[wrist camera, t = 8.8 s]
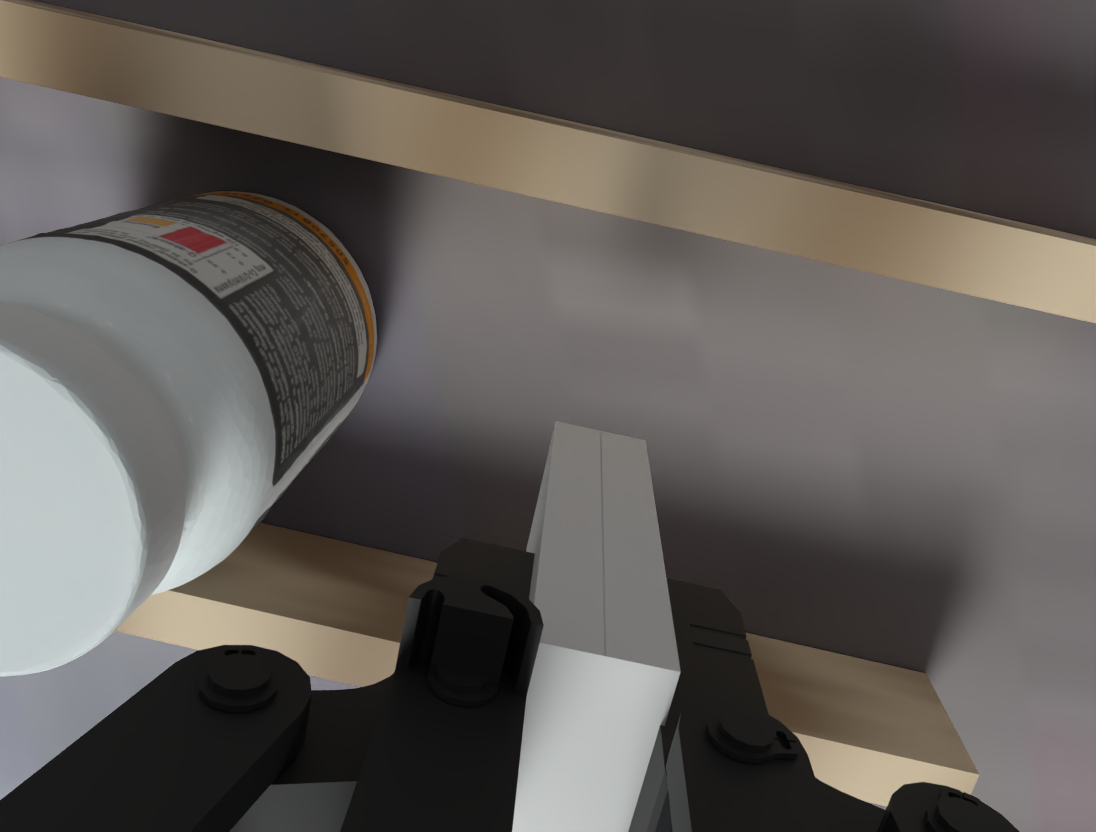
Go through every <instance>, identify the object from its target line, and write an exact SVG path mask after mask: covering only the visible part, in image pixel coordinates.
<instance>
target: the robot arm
mask: <svg viewBox="0 0 1096 832" xmlns="http://www.w3.org/2000/svg"><path fill="white" fill-rule="evenodd" d="M751 656H752V653H751V650H750V646H749V643H748V640H746V632H745V629H744V625H743V621H742V618H741V614H740V612H739V611H738V610H737V609H736V608H735V607H734V605H733V604H732V603H731V602H730V601H729V600H728V599H727V598H726V597H725V595H724V594H723V593H722V592H721V591H720V590H718V589H713V588H709V587H704V586H699V585H695V584H690V583H685V582H681V581H676V580H671V579H666V572H665V565H664V559H663V552H662V545H661V539H660V532H659V525H658V519H657V512H656V506H655V499H654V492H653V486H652V479H651V472H650V466H649V459H648V453H647V446H646V440H641V439H637V438H632V437H628V436H623V435H618V434H614V433H609V432H604V431H600V430H595V429H590V428H586V427H581V426H577V425H572V424H567V423H563V422H558V421H555V426H554V430H553V434H552V439H551V443H550V448H549V452H548V456H547V461H546V465H545V470H544V474H543V478H542V483H541V487H540V491H539V496H538V500H537V505H536V509H535V513H534V518H533V522H532V527H531V531H530V535H529V540H528V544H527V549H526V551H521V550H516V549H512V548H507V547H502V546H498V545H493V544H488V543H483V542H479V541H474V540H469V539H465V538H462V539H460V540H459V541H457V542H456V543H454V544H453V545H451V546H450V547H448V548H447V549H445V550H444V551H442V552H441V554H440V557H439V560H438V563H437V566H436V569H435V572H434V577H433V578H432V580H430V581H427V582H425V583H423V584H420V585H418V586H417V588H416V589H415V590H414V591H413V592H412V594H411V595H410V596H409V598H408V603H407V609H406V614H405V619H404V625H403V630H402V636H401V641H400V646H399V652H398V657H397V662H396V668H395V672H394V673H393V674H392V675H391V676H390V677H388V678H386V679H384V680H381V681H379V682H377V683H375V684H372V685H368V686H364V687H360V688H356V689H345V690H313V691H311V684H310V677H309V676H308V675H307V673H306V672H305V671H304V670H303V668H302V667H301V666H300V665H299V663H298V662H296V661H294V660H293V659H291V658H289V657H287V656H285V655H283V654H282V653H280V652H278V651H275V650H271V649H266V648H262V647H258V646H253V645H221V646H217V647H212V648H208V649H203V650H199V651H196V652H194V653H192V654H190V655H189V656H187V657H185V658H183V659H181V660H179V661H177V662H176V663H174V664H173V665H172V666H170V667H169V668H168V669H167V670H165V671H164V672H163V673H162V674H160V675H159V676H158V677H156V678H155V679H154V680H153V681H151V682H150V683H149V684H148V685H146V686H145V687H144V688H142V689H141V690H140V691H139V692H137V693H136V694H135V695H134V696H132V697H131V698H130V699H129V700H127V701H126V702H125V703H123V704H122V705H121V706H120V707H118V708H117V709H116V710H115V711H113V712H112V713H111V714H109V715H108V716H107V717H106V718H104V719H103V720H102V721H101V722H99V723H98V724H97V725H95V726H94V727H93V728H92V729H90V730H89V731H88V732H87V733H85V734H84V735H83V736H81V737H80V738H79V739H78V740H76V741H75V742H74V743H73V744H71V745H70V746H69V747H67V748H66V749H65V750H64V751H62V752H61V753H60V754H59V755H57V756H56V757H55V758H54V759H52V760H51V761H50V762H48V763H47V764H46V765H45V766H43V767H42V768H41V769H40V770H38V771H37V772H36V773H34V774H33V775H32V776H31V777H29V778H28V779H27V780H26V781H24V782H23V783H22V784H20V785H19V786H18V787H17V788H15V789H14V790H13V791H12V792H10V793H9V794H8V795H6V796H5V797H4V798H3V799H1V800H0V832H1019V831H1018V830H1017V829H1016V828H1015V827H1014V826H1013V825H1012V824H1011V823H1010V822H1009V821H1008V820H1007V819H1006V818H1004V817H1003V816H1002V815H1001V814H1000V813H998V812H997V811H995V810H994V809H992V808H991V807H989V806H988V805H986V804H984V803H983V802H981V801H980V800H979V799H978V798H976V797H974V796H972V795H970V794H967V793H965V792H964V793H963V792H961V790H957V789H954V788H951V787H949V786H944V785H938V784H933V783H927V782H918V783H911V784H904V785H902V786H901V787H900V788H899V789H898V790H897V791H895V792H894V793H893V794H892V796H891V798H890V801H889V803H888V806H887V808H886V810H883V809H881V808H879V807H876V806H874V805H872V804H869V803H867V802H865V801H862V800H860V799H858V798H855V797H853V796H851V795H848V794H846V793H844V792H841V791H839V790H837V789H836V788H834V787H832V786H830V785H828V784H826V783H824V782H822V781H820V780H819V779H817V778H816V777H815V776H814V772H813V769H812V766H811V763H810V760H809V757H808V754H807V752H806V751H805V749H804V747H803V745H802V744H801V742H800V740H799V739H798V737H797V736H796V735H795V734H794V733H792V732H791V731H790V730H789V729H788V728H787V727H786V726H785V725H784V724H783V723H781V722H780V721H779V720H777V719H775V718H773V717H772V716H770V715H769V713H768V710H767V706H766V703H765V699H764V696H763V692H762V689H761V685H760V682H759V678H758V675H757V671H756V667H755V664H754V660H753V659H751Z"/></svg>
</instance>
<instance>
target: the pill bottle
mask: <svg viewBox="0 0 1096 832" xmlns="http://www.w3.org/2000/svg"><path fill="white" fill-rule="evenodd" d="M376 346H377V328H376V315H375V311H374V307H373V302H372V298H371V295H370V292H369V288H368V285H367V283H366V281H365V279H364V277H363V275H362V273H361V271H360V269H359V267H358V265H357V264H356V262H355V261H354V259H353V258H352V256H351V255H350V253H349V252H348V251H347V250H346V248H345V247H344V246H343V244H342V243H341V242H340V241H339V240H338V239H337V238H336V236H335V235H334V234H333V233H332V232H331V231H330V230H329V229H328V228H327V227H325V226H324V225H323V224H321V223H320V222H319V221H317V220H316V219H314V218H313V217H311V216H310V215H308V214H307V213H305V212H304V211H302V210H300V209H298V208H297V207H295V206H293V205H290V204H288V203H286V202H283V201H281V200H278V199H275V198H272V197H269V196H265V195H261V194H256V193H249V192H240V191H218V192H209V193H203V194H198V195H192V196H187V197H182V198H179V199H175V200H171V201H168V202H165V203H161V204H157V205H153V206H150V207H145V208H141V209H138V210H134V211H128V212H124V213H119V214H116V215H113V216H110V217H107V218H103V219H99V220H96V221H92V222H88V223H84V224H80V225H77V226H73V227H69V228H64V229H59V230H55V231H52V232H48V233H40V234H38V235H35V236H32V237H28V238H25V239H21V240H18V241H14V242H11V243H8V244H5V245H2V246H0V676H14V675H25V674H31V673H37V672H42V671H46V670H50V669H53V668H56V667H58V666H61V665H64V664H66V663H68V662H70V661H72V660H74V659H76V658H78V657H80V656H82V655H83V654H85V653H87V652H88V651H90V650H91V649H93V648H94V647H96V646H97V645H99V644H100V643H102V642H103V641H104V640H105V639H106V638H107V637H108V636H109V635H110V634H111V633H112V632H114V631H115V630H116V629H117V628H118V627H119V626H120V625H121V624H122V623H123V622H124V621H125V620H126V619H127V618H128V617H129V616H130V615H131V614H132V613H133V612H134V611H135V610H136V609H137V608H138V607H139V606H140V605H141V604H143V603H144V602H145V601H146V600H147V599H148V598H149V597H150V595H153V594H157V593H161V592H164V591H167V590H170V589H173V588H175V587H178V586H181V585H183V584H185V583H187V582H189V581H191V580H193V579H195V578H197V577H198V576H200V575H202V574H204V573H205V572H207V571H208V570H210V569H211V568H213V567H214V566H216V565H217V564H219V563H220V562H222V561H223V560H224V559H225V558H227V557H228V556H229V555H230V554H231V553H232V552H233V551H234V550H235V549H236V548H237V547H238V546H239V545H240V544H241V543H242V541H243V540H244V539H245V538H246V537H247V535H248V534H249V533H250V532H251V531H252V530H253V528H254V527H255V526H256V525H257V524H259V523H260V522H261V521H262V520H263V519H264V518H265V516H266V515H267V513H268V511H269V510H270V508H271V506H272V505H273V504H274V503H275V502H276V501H277V500H278V499H279V498H280V497H281V496H282V495H283V493H284V492H285V491H286V489H287V488H288V487H289V486H290V485H291V483H292V482H293V481H294V479H295V478H296V477H297V476H298V475H299V474H300V472H301V471H302V470H303V469H304V468H305V467H306V465H307V464H308V463H309V462H310V461H311V460H312V458H313V457H314V456H315V455H316V454H317V453H318V452H319V450H320V449H321V448H322V447H323V446H324V445H325V443H326V442H327V441H328V440H329V439H330V438H331V437H332V435H333V434H334V433H335V432H336V431H337V430H338V429H339V428H340V426H341V425H342V423H343V422H344V420H345V419H346V418H347V416H348V415H349V414H350V412H351V411H352V410H353V408H354V407H355V406H356V404H357V402H358V400H359V399H360V397H361V395H362V393H363V391H364V389H365V387H366V385H367V383H368V380H369V377H370V375H371V372H372V369H373V364H374V360H375V356H376Z"/></svg>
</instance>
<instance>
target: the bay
mask: <svg viewBox="0 0 1096 832" xmlns="http://www.w3.org/2000/svg"><path fill="white" fill-rule="evenodd" d="M0 77H4V78H8V79H13V80H17V81H22V82H26V83H31V84H35V85H39V86H44V87H48V88H53V89H57V90H62V91H66V92H71V93H75V94H79V95H84V96H88V97H93V98H97V99H102V100H106V101H110V102H115V103H119V104H124V105H128V106H133V107H137V108H142V109H146V110H150V111H155V112H159V113H164V114H168V115H173V116H177V117H182V118H186V119H190V120H195V121H199V122H204V123H208V124H213V125H217V126H222V127H226V128H230V129H235V130H239V131H244V132H248V133H253V134H257V135H262V136H266V137H270V138H275V139H279V140H284V141H288V142H293V143H297V144H302V145H306V146H310V147H315V148H319V149H324V150H328V151H333V152H337V153H342V154H346V155H350V156H355V157H359V158H364V159H368V160H373V161H377V162H382V163H386V164H390V165H395V166H399V167H404V168H408V169H413V170H417V171H422V172H426V173H430V174H435V175H439V176H444V177H448V178H453V179H457V180H461V181H466V182H470V183H475V184H479V185H484V186H488V187H493V188H497V189H501V190H506V191H510V192H515V193H519V194H524V195H528V196H533V197H537V198H541V199H546V200H550V201H555V202H559V203H564V204H568V205H573V206H577V207H581V208H586V209H590V210H595V211H599V212H604V213H608V214H613V215H617V216H621V217H626V218H630V219H635V220H639V221H644V222H648V223H653V224H657V225H661V226H666V227H670V228H675V229H679V230H684V231H688V232H693V233H697V234H701V235H706V236H710V237H715V238H719V239H724V240H728V241H733V242H737V243H741V244H746V245H750V246H755V247H759V248H764V249H768V250H773V251H777V252H781V253H786V254H790V255H795V256H799V257H804V258H808V259H812V260H817V261H821V262H826V263H830V264H835V265H839V266H844V267H848V268H852V269H857V270H861V271H866V272H870V273H875V274H879V275H884V276H888V277H892V278H897V279H901V280H906V281H910V282H915V283H919V284H924V285H928V286H932V287H937V288H941V289H946V290H950V291H955V292H959V293H964V294H968V295H972V296H977V297H981V298H986V299H990V300H995V301H999V302H1004V303H1008V304H1012V305H1017V306H1021V307H1026V308H1030V309H1035V310H1039V311H1044V312H1048V313H1052V314H1057V315H1061V316H1066V317H1070V318H1075V319H1079V320H1084V321H1088V322H1092V323H1096V239H1093V238H1089V237H1084V236H1080V235H1075V234H1071V233H1066V232H1062V231H1058V230H1053V229H1049V228H1044V227H1040V226H1035V225H1031V224H1026V223H1022V222H1017V221H1013V220H1009V219H1004V218H1000V217H995V216H991V215H986V214H982V213H977V212H973V211H969V210H964V209H960V208H955V207H951V206H946V205H942V204H937V203H933V202H928V201H924V200H920V199H915V198H911V197H906V196H902V195H897V194H893V193H888V192H884V191H880V190H875V189H871V188H866V187H862V186H857V185H853V184H848V183H844V182H839V181H835V180H831V179H826V178H822V177H817V176H813V175H808V174H804V173H799V172H795V171H791V170H786V169H782V168H777V167H773V166H768V165H764V164H759V163H755V162H750V161H746V160H742V159H737V158H733V157H728V156H724V155H719V154H715V153H710V152H706V151H701V150H697V149H693V148H688V147H684V146H679V145H675V144H670V143H666V142H661V141H657V140H653V139H648V138H644V137H639V136H635V135H630V134H626V133H621V132H617V131H612V130H608V129H604V128H599V127H595V126H590V125H586V124H581V123H577V122H572V121H568V120H564V119H559V118H555V117H550V116H546V115H541V114H537V113H532V112H528V111H523V110H519V109H515V108H510V107H506V106H501V105H497V104H492V103H488V102H483V101H479V100H475V99H470V98H466V97H461V96H457V95H452V94H448V93H443V92H439V91H434V90H430V89H426V88H421V87H417V86H412V85H408V84H403V83H399V82H394V81H390V80H386V79H381V78H377V77H372V76H368V75H363V74H359V73H354V72H350V71H345V70H341V69H337V68H332V67H328V66H323V65H319V64H314V63H310V62H305V61H301V60H297V59H292V58H288V57H283V56H279V55H274V54H270V53H265V52H261V51H256V50H252V49H248V48H243V47H239V46H234V45H230V44H225V43H221V42H216V41H212V40H208V39H203V38H199V37H194V36H190V35H185V34H181V33H176V32H172V31H167V30H163V29H159V28H154V27H150V26H145V25H141V24H136V23H132V22H127V21H123V20H118V19H114V18H110V17H105V16H101V15H96V14H92V13H87V12H83V11H78V10H74V9H70V8H65V7H61V6H56V5H52V4H47V3H43V2H38V1H34V0H0ZM436 566H437V562H432V561H428V560H424V559H419V558H415V557H410V556H406V555H402V554H397V553H393V552H388V551H384V550H380V549H375V548H371V547H366V546H362V545H357V544H353V543H349V542H344V541H340V540H335V539H331V538H327V537H322V536H318V535H313V534H309V533H305V532H300V531H296V530H291V529H287V528H283V527H278V526H274V525H269V524H265V523H259V524H257V525H256V526H255V527H254V528H253V530H252V531H251V532H250V533H249V534H248V535H247V537H246V538H245V539H244V540H243V541H242V543H241V544H240V545H239V546H238V547H237V548H236V549H235V550H234V551H233V552H232V553H231V554H230V555H229V556H228V557H227V558H225V559H224V560H223V561H222V562H220V563H219V564H217V565H216V566H214V567H213V568H211V569H210V570H208V571H207V572H205V573H204V574H202V575H200V576H198V577H197V578H195V579H193V580H191V581H189V582H187V583H185V584H183V585H181V586H178V587H175V588H173V589H170V590H167V591H164V592H161V593H157V594H153V595H150V597H149V598H148V599H147V600H146V601H145V602H144V603H143V604H141V605H140V606H139V607H138V608H137V609H136V610H135V611H134V612H133V613H132V614H131V615H130V616H129V617H128V618H127V619H126V620H125V621H124V622H123V623H122V624H121V625H120V626H119V627H118V628H117V629H116V630H115V631H118V632H122V633H127V634H131V635H135V636H140V637H144V638H149V639H153V640H157V641H162V642H166V643H171V644H175V645H179V646H184V647H188V648H192V649H197V650H203V649H208V648H212V647H217V646H221V645H253V646H258V647H262V648H266V649H271V650H275V651H278V652H280V653H282V654H283V655H285V656H287V657H289V658H291V659H293V660H294V661H296V662H298V663H299V665H300V666H301V667H302V668H303V670H304V671H305V672H306V673H307V675H311V676H316V677H320V678H324V679H329V680H333V681H338V682H342V683H346V684H351V685H355V686H360V687H364V686H368V685H372V684H375V683H377V682H379V681H381V680H384V679H386V678H388V677H390V676H391V675H392V674H393V673H394V672H395V668H396V662H397V657H398V652H399V646H400V641H401V636H402V630H403V625H404V619H405V614H406V609H407V603H408V598H409V596H410V595H411V594H412V592H413V591H414V590H415V589H416V588H417V586H418V585H420V584H423V583H425V582H427V581H430V580H432V578H433V577H434V572H435V569H436ZM746 640H748V643H749V646H750V650H751V653H752V656H751V659H753V660H754V664H755V667H756V671H757V675H758V678H759V682H760V685H761V689H762V692H763V696H764V699H765V703H766V706H767V710H768V713H769V715H770V716H772V717H773V718H775V719H777V720H779V721H780V722H781V723H783V724H784V725H785V726H786V727H787V728H788V729H789V730H790V731H791V732H792V733H794V734H795V735H796V736H797V737H798V739H799V740H800V742H801V744H802V745H803V747H804V749H805V751H806V752H807V754H808V757H809V760H810V763H811V766H812V769H813V772H814V776H815V777H816V778H817V779H819V780H820V781H822V782H824V783H826V784H828V785H830V786H832V787H834V788H836V789H837V790H839V791H841V792H844V793H846V794H848V795H851V796H853V797H855V798H858V799H860V800H862V801H865V802H870V803H874V804H878V805H883V806H888V803H889V801H890V798H891V796H892V794H893V793H894V792H895V791H897V790H898V789H899V788H900V787H901V786H902V785H904V784H911V783H918V782H927V783H933V784H938V785H944V786H949V787H951V788H954V789H957V790H961V792H963V793H964V792H965V793H967V794H970V795H971V793H972V790H973V788H974V786H975V783H976V781H977V779H978V777H979V773H978V771H977V769H976V767H975V765H974V764H973V762H972V760H971V758H970V756H969V754H968V752H967V750H966V748H965V746H964V745H963V743H962V741H961V739H960V737H959V735H958V733H957V731H956V729H955V728H954V726H953V724H952V722H951V720H950V718H949V716H948V714H947V712H946V710H945V709H944V707H943V705H942V703H941V701H940V699H939V697H938V695H937V693H936V692H935V690H934V688H933V686H932V684H931V682H930V680H929V678H928V676H927V674H926V673H922V672H917V671H913V670H909V669H904V668H900V667H895V666H891V665H887V664H882V663H878V662H873V661H869V660H865V659H860V658H856V657H851V656H847V655H842V654H838V653H834V652H829V651H825V650H820V649H816V648H812V647H807V646H803V645H798V644H794V643H790V642H785V641H781V640H776V639H772V638H768V637H763V636H759V635H754V634H750V633H746Z"/></svg>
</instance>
